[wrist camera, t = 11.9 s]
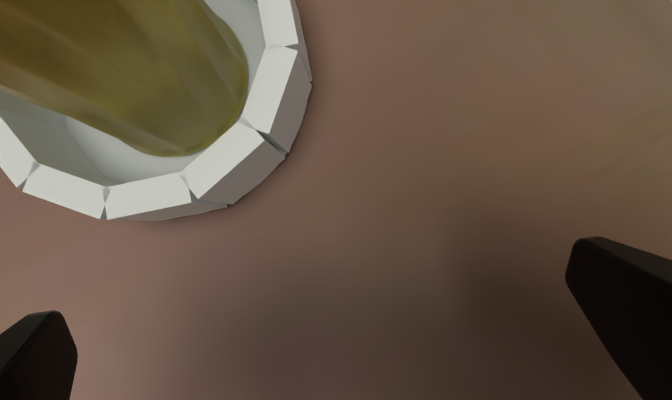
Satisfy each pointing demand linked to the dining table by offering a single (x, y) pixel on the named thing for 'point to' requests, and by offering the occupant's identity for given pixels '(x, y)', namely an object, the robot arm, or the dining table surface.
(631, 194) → the dining table surface
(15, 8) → the vase
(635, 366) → the robot arm
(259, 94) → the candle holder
